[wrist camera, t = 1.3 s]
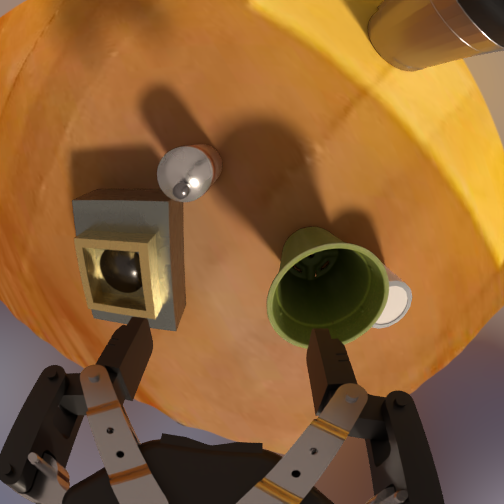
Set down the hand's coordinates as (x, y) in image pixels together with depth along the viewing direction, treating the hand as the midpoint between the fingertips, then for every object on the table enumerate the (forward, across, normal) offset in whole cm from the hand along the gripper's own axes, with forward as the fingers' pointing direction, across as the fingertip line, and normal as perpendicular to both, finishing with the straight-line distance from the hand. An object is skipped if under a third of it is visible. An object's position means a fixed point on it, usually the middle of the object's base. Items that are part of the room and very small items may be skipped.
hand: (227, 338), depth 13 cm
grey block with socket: (+22, +14, +5) cm, 26 cm away
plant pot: (+22, -8, +5) cm, 24 cm away
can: (+22, +5, -6) cm, 23 cm away
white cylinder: (+22, -17, +8) cm, 29 cm away
